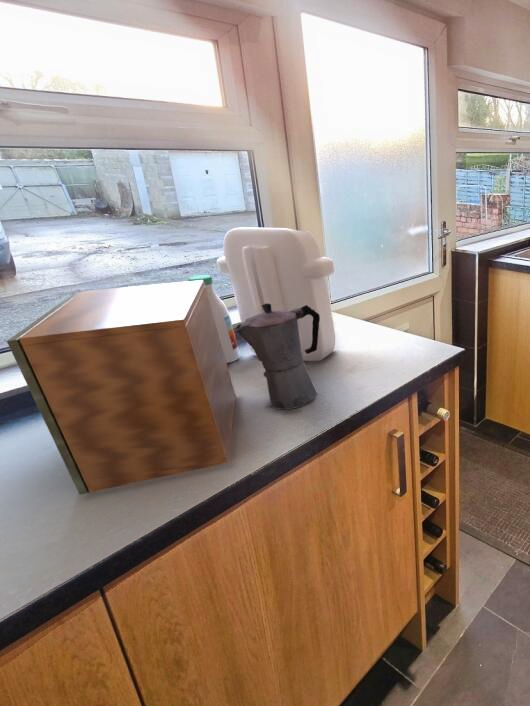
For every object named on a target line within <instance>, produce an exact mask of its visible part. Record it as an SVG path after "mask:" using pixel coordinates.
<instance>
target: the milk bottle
mask: <svg viewBox="0 0 530 706" xmlns="http://www.w3.org/2000/svg"><path fill="white" fill-rule="evenodd" d="M198 280H204V283H205V287H206V291H207V294H208V298H209V301H210V305H211V309H212V312H213V316H214V319H215V323H216V327H217V330H218V334H219V337H220V341H221V345H222V348H223V352H224V355H225V359H226V363H227V364H229V363H232V362H235V361H237V360H238V359H240V357H241V353H240V349H239V344H238V341H237V337H236V332H234V327H233V323H232V319H231V315H230V313H229V310H228V308H227V306H226V304H225V303H224V301H223V300H222V299H221V298H220V296H218V294H217V292H216V290H215V289H214V285H215V284H214V281H213V277H212V276H211V275H209V274H201V275H199V274H198V275H193V276H190V277H188V279H187V281H198Z"/></svg>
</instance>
